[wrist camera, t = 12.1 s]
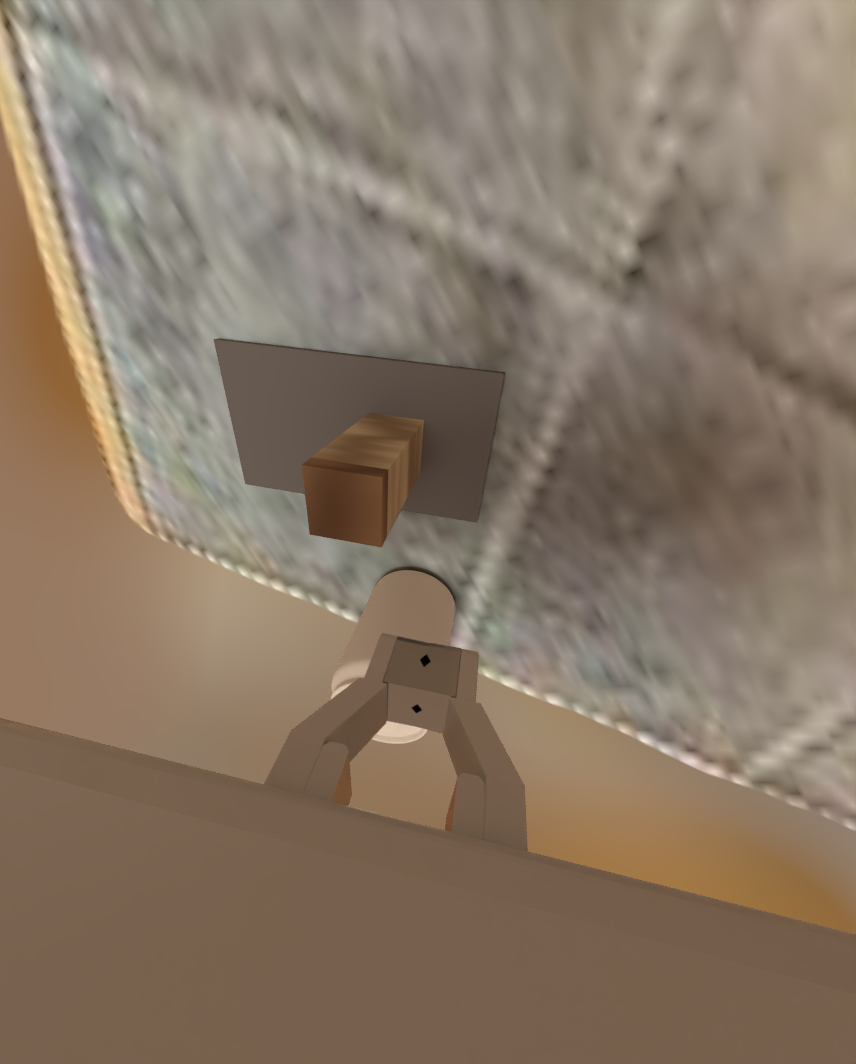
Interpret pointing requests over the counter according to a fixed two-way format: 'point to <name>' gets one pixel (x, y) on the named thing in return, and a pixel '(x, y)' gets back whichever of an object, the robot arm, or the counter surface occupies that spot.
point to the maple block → (363, 479)
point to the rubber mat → (359, 416)
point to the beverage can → (397, 632)
